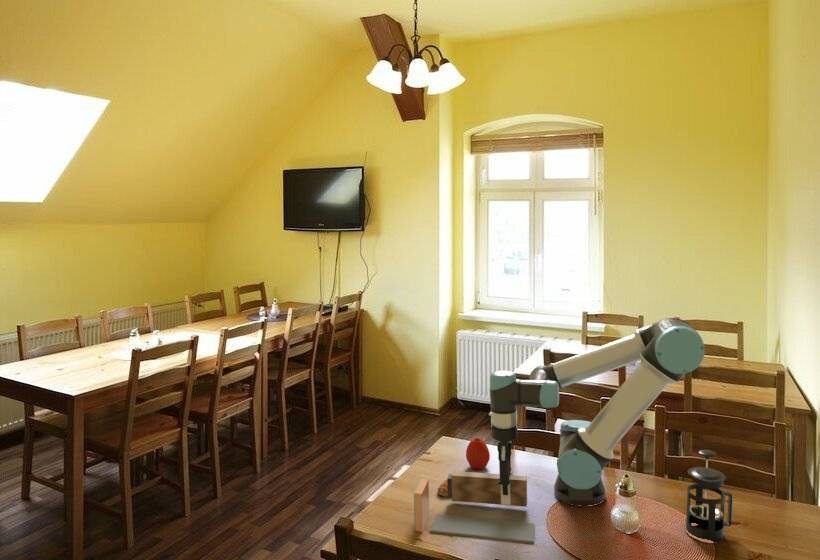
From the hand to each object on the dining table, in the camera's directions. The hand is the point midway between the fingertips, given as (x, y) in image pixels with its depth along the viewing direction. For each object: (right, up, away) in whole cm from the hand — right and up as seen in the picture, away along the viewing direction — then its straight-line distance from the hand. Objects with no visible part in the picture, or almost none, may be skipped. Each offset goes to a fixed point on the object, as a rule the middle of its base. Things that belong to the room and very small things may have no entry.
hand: (506, 500), depth 172 cm
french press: (+51, -3, -16) cm, 54 cm away
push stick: (-5, -1, +1) cm, 5 cm away
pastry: (-15, -2, +12) cm, 19 cm away
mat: (-8, -4, -11) cm, 14 cm away
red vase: (-5, +1, +28) cm, 29 cm away
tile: (-25, -4, -7) cm, 26 cm away
